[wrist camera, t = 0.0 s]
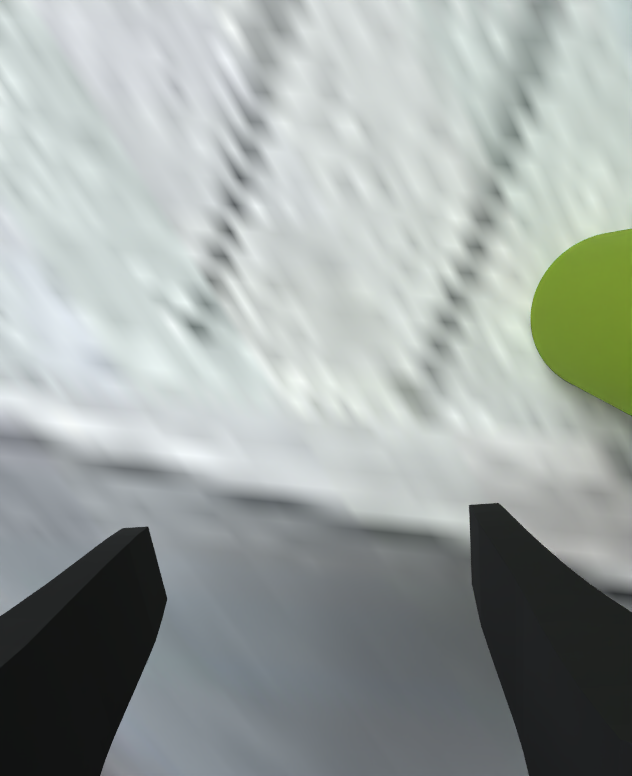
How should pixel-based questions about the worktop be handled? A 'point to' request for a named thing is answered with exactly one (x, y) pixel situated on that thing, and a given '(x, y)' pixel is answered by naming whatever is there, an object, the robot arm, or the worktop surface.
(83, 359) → the worktop surface
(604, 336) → the soap dispenser
